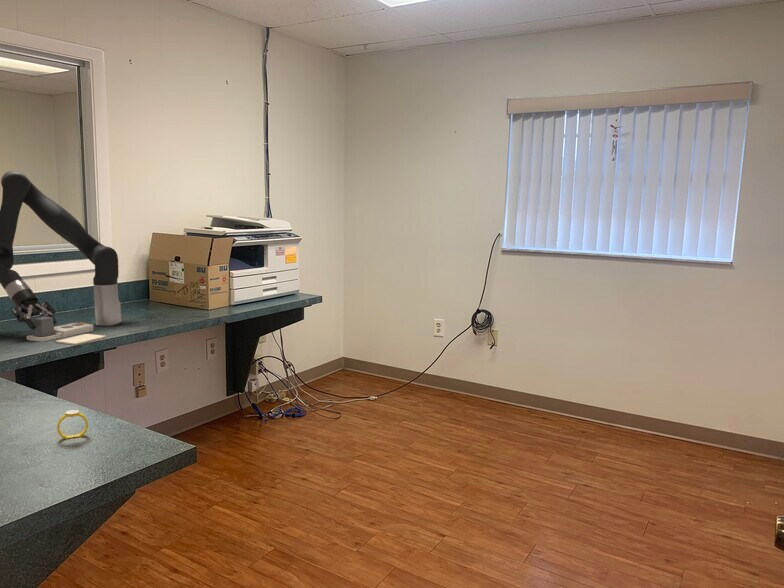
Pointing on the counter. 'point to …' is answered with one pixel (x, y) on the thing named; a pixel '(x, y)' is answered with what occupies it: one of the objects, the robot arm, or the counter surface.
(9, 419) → the counter surface
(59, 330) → the power strip
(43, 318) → the plug
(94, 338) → the rubber mat
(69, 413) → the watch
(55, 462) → the counter surface
